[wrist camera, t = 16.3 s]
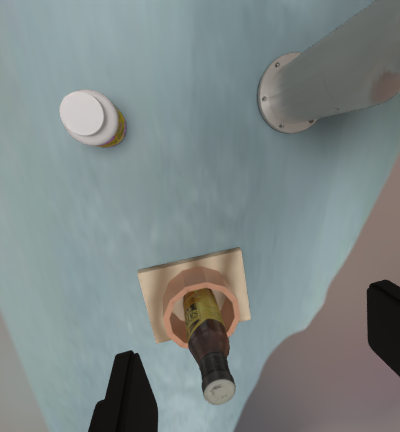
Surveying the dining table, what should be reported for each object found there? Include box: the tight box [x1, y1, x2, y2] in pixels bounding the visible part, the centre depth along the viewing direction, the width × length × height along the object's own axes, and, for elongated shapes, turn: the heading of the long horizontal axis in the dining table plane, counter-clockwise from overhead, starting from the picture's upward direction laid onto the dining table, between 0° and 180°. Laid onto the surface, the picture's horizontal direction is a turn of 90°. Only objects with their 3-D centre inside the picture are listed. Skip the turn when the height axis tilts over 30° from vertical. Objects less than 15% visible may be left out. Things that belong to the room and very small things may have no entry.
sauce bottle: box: [183, 288, 236, 405], centre depth 39 cm, size 7×6×20 cm
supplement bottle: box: [60, 89, 126, 147], centre depth 34 cm, size 7×7×13 cm
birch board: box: [138, 247, 251, 344], centre depth 49 cm, size 20×16×2 cm
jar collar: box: [163, 266, 240, 349], centre depth 45 cm, size 13×13×6 cm
